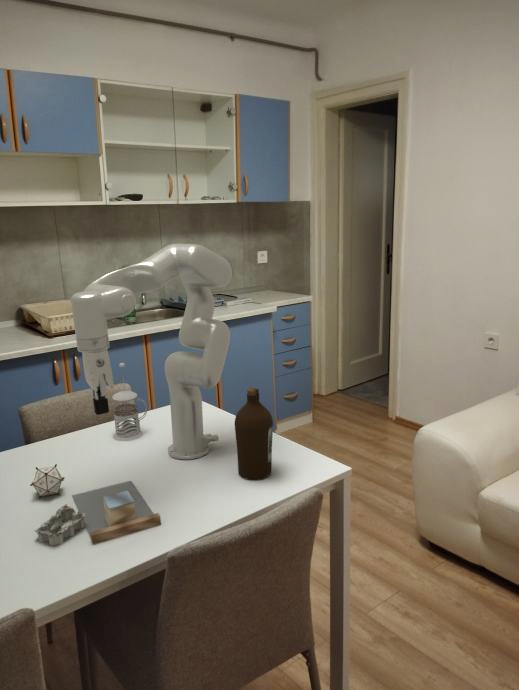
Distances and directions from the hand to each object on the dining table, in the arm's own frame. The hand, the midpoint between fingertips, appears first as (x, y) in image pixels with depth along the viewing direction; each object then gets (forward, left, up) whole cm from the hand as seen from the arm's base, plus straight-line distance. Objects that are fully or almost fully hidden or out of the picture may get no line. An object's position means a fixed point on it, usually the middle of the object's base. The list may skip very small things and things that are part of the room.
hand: (102, 412), depth 141 cm
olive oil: (-39, +7, -24) cm, 47 cm away
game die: (+14, -10, -24) cm, 30 cm away
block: (+1, +13, -18) cm, 22 cm away
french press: (-16, -38, -24) cm, 48 cm away
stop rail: (+1, +18, -24) cm, 30 cm away
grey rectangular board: (+1, +6, -24) cm, 25 cm away
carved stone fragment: (+14, +10, -24) cm, 29 cm away
